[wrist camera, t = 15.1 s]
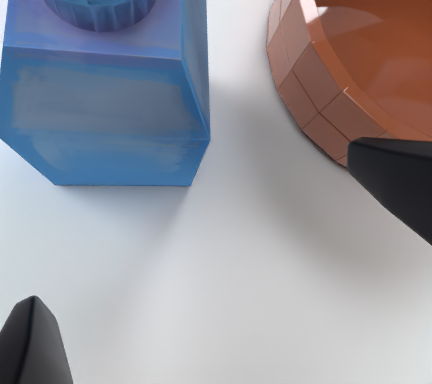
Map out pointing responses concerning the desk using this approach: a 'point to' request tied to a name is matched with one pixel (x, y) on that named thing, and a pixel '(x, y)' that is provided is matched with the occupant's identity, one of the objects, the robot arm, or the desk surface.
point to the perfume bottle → (107, 89)
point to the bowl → (354, 68)
